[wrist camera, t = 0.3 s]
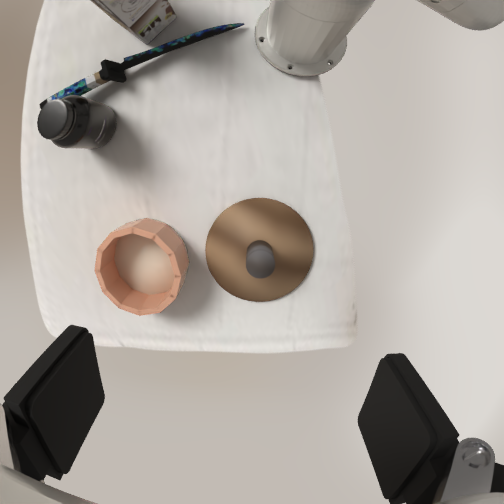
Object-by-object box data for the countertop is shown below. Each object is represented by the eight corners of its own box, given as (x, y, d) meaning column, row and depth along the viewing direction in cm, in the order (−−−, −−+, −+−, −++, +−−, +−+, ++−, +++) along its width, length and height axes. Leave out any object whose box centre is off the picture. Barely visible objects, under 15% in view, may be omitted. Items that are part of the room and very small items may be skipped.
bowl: (120, 208, 42) (102, 217, 36) (197, 232, 43) (189, 244, 37) (108, 281, 45) (92, 297, 39) (178, 305, 46) (169, 325, 41)
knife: (52, 115, 36) (38, 112, 32) (49, 99, 35) (35, 94, 31) (247, 46, 37) (250, 34, 32) (242, 29, 36) (244, 16, 32)
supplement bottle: (121, 141, 39) (78, 139, 27) (82, 153, 39) (33, 157, 28) (115, 97, 37) (72, 81, 25) (76, 111, 37) (28, 103, 26)
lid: (223, 183, 41) (219, 188, 36) (326, 217, 43) (338, 226, 37) (195, 282, 46) (187, 299, 40) (290, 309, 47) (295, 330, 41)
